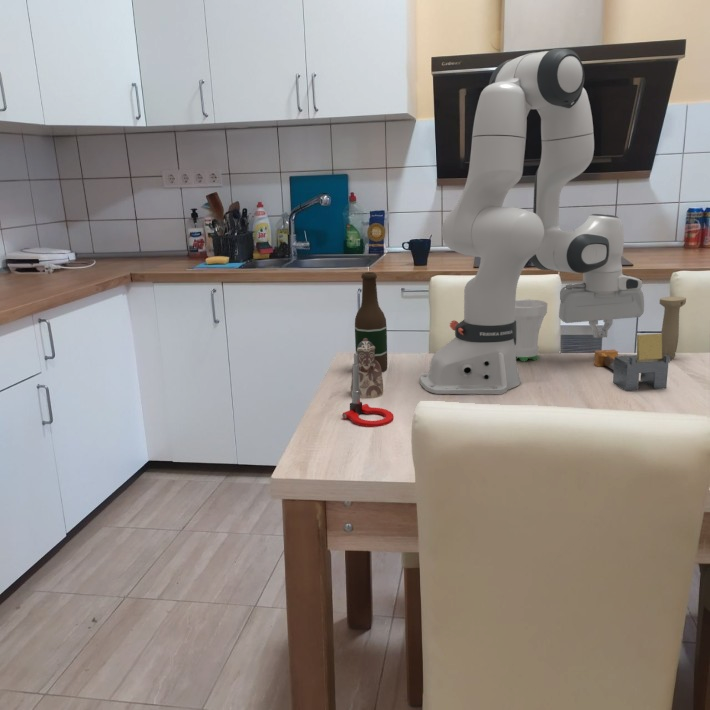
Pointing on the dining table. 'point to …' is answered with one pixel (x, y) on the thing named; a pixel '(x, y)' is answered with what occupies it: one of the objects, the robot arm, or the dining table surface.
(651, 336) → the keeper flap
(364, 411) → the tow hook
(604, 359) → the orange piece
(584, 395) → the dining table surface
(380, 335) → the beer bottle
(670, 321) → the handle
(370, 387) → the figurine
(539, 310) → the cup
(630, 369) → the block
